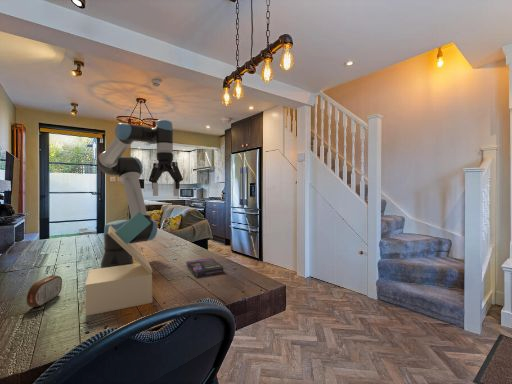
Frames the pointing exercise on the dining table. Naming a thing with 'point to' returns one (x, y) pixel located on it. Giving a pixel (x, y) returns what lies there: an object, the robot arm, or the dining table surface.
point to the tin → (44, 291)
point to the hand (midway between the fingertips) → (165, 196)
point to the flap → (131, 237)
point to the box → (204, 267)
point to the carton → (117, 288)
